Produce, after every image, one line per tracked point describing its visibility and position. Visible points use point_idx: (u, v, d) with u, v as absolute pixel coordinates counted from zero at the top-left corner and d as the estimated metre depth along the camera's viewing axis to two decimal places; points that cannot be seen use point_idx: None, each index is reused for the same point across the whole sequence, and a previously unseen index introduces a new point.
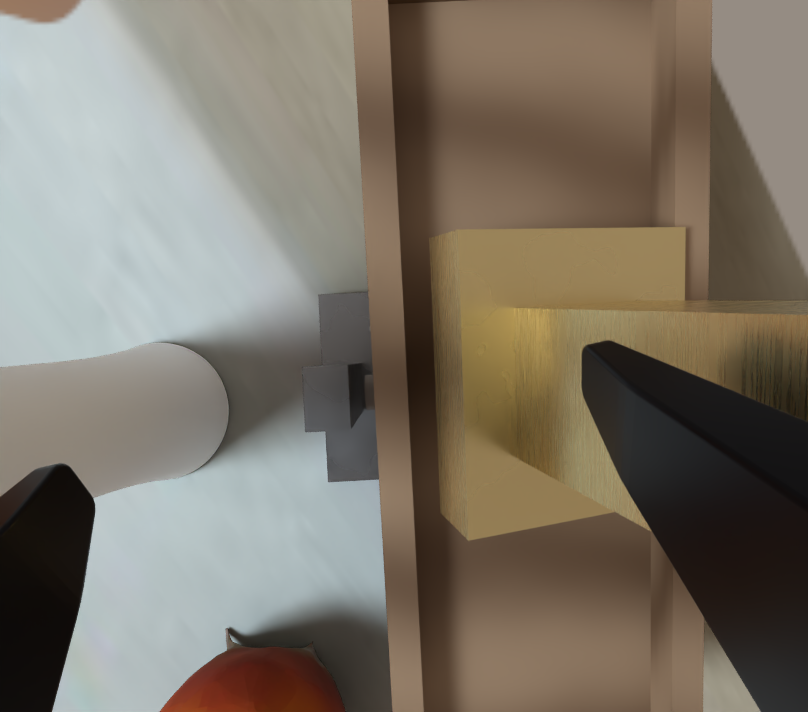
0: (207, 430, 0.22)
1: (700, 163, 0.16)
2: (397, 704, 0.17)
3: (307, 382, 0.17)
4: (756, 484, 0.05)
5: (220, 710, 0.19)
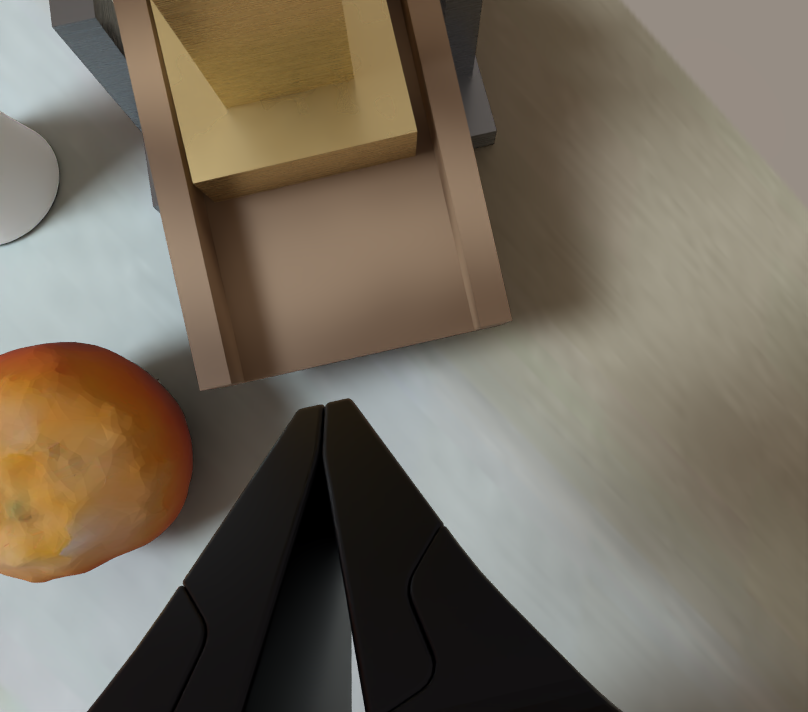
0: (25, 166, 0.23)
1: None
2: (182, 286, 0.17)
3: None
4: None
5: (7, 353, 0.18)
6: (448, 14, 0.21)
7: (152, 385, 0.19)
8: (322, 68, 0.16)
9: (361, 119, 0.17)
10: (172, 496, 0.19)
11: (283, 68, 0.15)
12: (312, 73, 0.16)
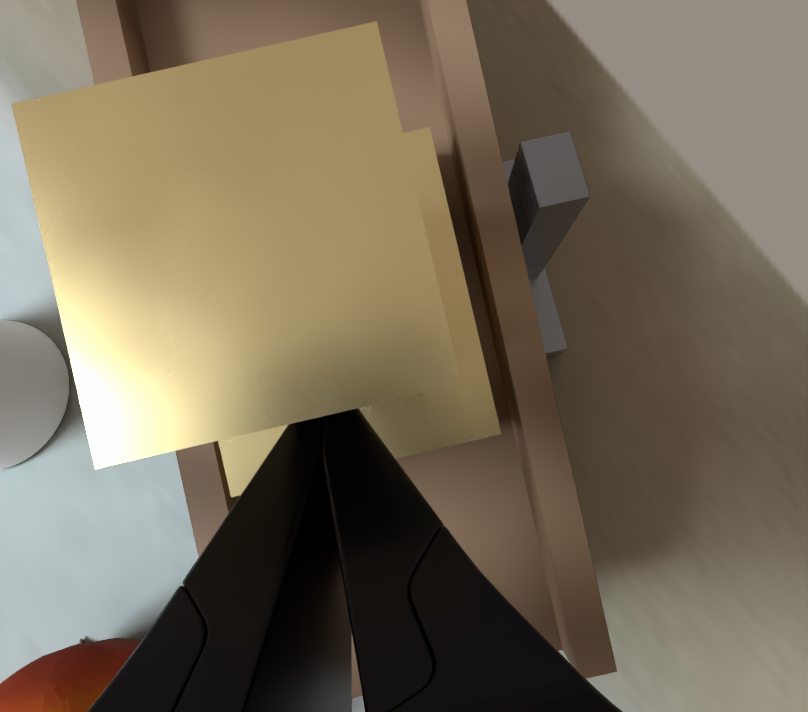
0: (31, 393, 0.20)
1: None
2: None
3: None
4: None
5: (12, 700, 0.15)
6: (524, 248, 0.18)
7: None
8: None
9: (434, 418, 0.14)
10: None
11: None
12: None
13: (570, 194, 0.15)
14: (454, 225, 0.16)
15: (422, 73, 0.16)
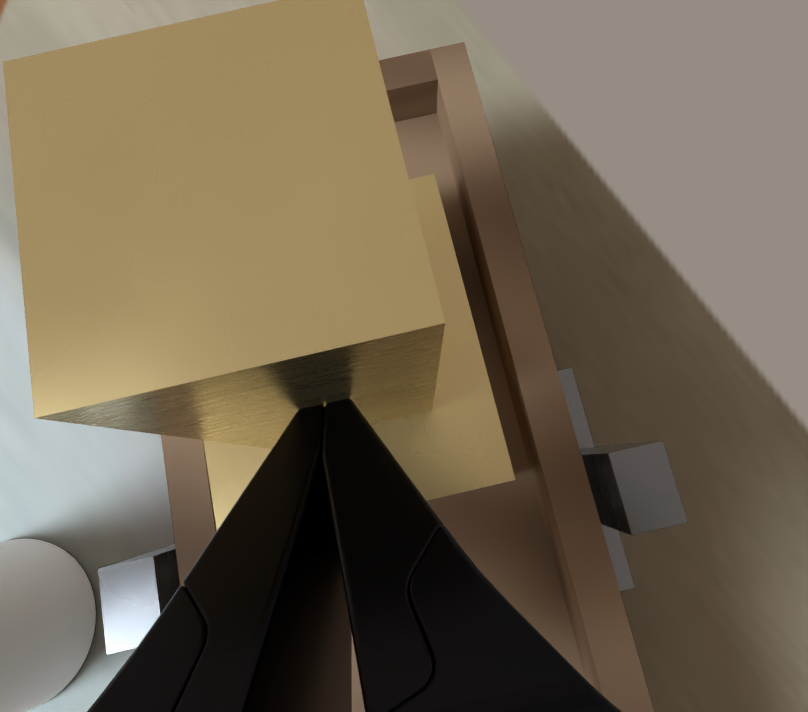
0: (57, 644, 0.19)
1: (511, 249, 0.14)
2: None
3: (106, 587, 0.14)
4: None
5: None
6: None
7: None
8: (395, 414, 0.12)
9: (442, 462, 0.13)
10: None
11: None
12: (381, 418, 0.12)
13: (666, 519, 0.13)
14: (529, 522, 0.14)
15: (489, 357, 0.15)
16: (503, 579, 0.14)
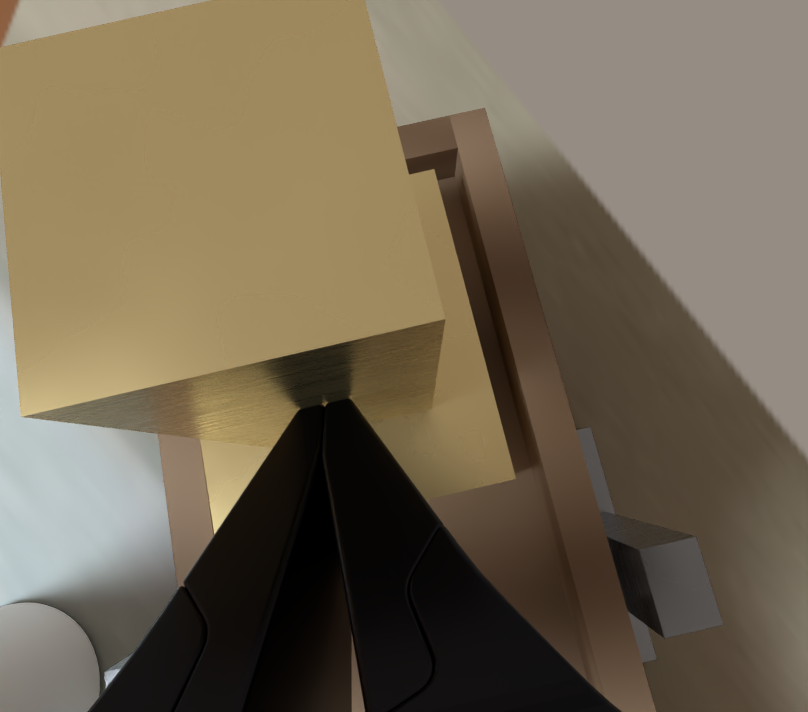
0: None
1: (536, 331, 0.14)
2: None
3: None
4: None
5: None
6: None
7: None
8: (394, 413, 0.12)
9: (441, 462, 0.13)
10: None
11: None
12: (380, 417, 0.12)
13: (700, 621, 0.13)
14: (555, 617, 0.14)
15: (512, 439, 0.15)
16: None
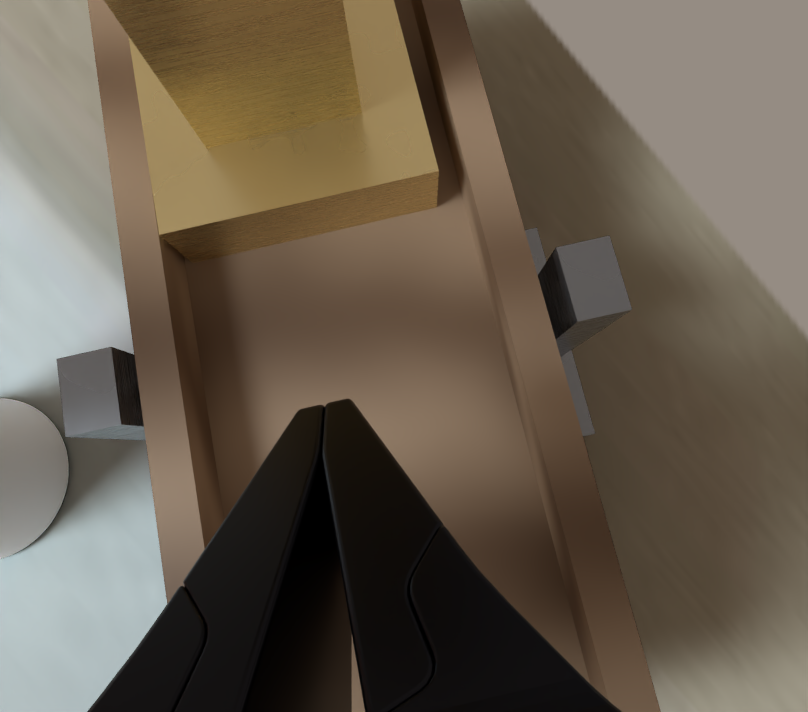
0: (28, 485, 0.19)
1: (464, 54, 0.15)
2: None
3: (65, 376, 0.14)
4: None
5: None
6: None
7: None
8: (322, 96, 0.13)
9: (370, 157, 0.14)
10: None
11: (273, 93, 0.12)
12: (309, 102, 0.13)
13: (610, 307, 0.14)
14: (481, 324, 0.15)
15: (445, 173, 0.16)
16: (455, 376, 0.14)
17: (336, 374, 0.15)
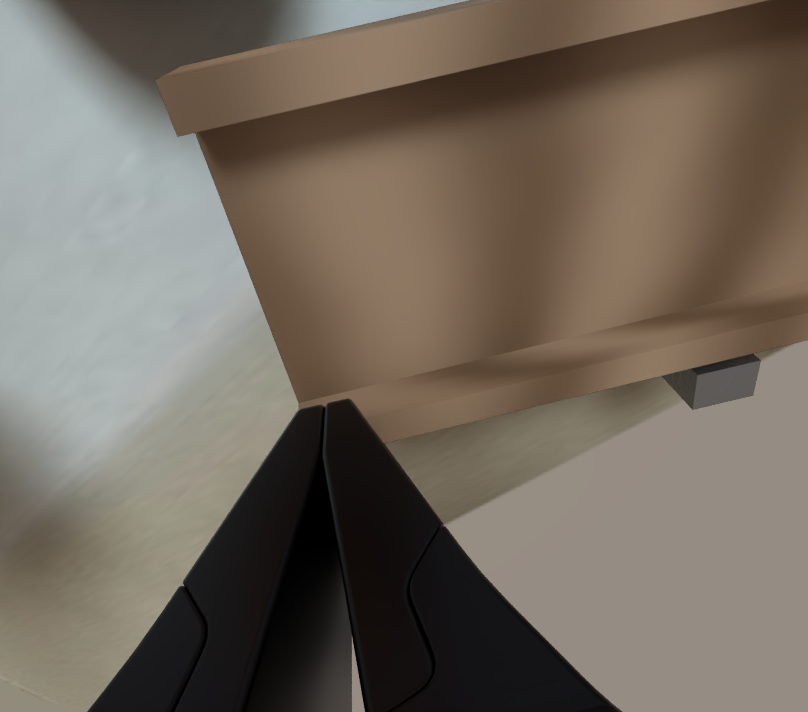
0: None
1: None
2: (332, 50, 0.10)
3: None
4: None
5: None
6: None
7: None
8: None
9: None
10: None
11: None
12: None
13: (699, 396, 0.17)
14: (708, 293, 0.16)
15: None
16: (672, 272, 0.16)
17: (711, 159, 0.14)
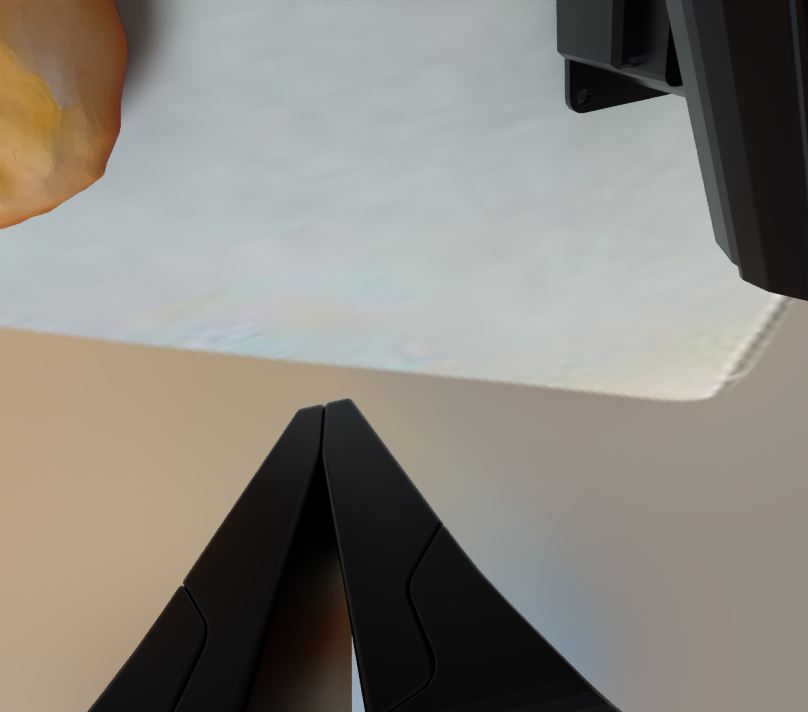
0: None
1: None
2: None
3: None
4: None
5: None
6: None
7: None
8: None
9: None
10: None
11: None
12: None
13: None
14: None
15: None
16: None
17: None
